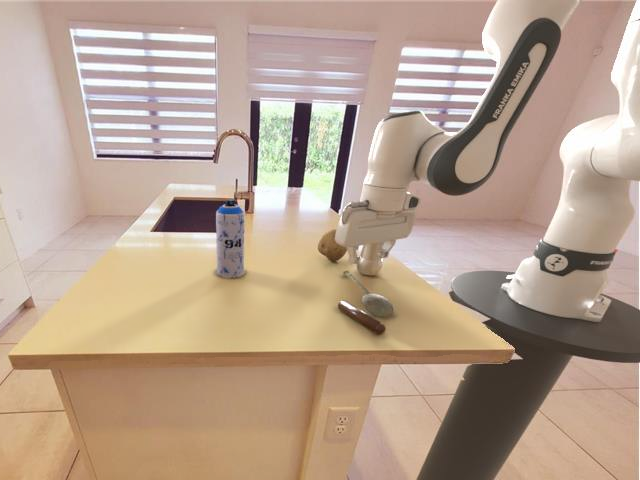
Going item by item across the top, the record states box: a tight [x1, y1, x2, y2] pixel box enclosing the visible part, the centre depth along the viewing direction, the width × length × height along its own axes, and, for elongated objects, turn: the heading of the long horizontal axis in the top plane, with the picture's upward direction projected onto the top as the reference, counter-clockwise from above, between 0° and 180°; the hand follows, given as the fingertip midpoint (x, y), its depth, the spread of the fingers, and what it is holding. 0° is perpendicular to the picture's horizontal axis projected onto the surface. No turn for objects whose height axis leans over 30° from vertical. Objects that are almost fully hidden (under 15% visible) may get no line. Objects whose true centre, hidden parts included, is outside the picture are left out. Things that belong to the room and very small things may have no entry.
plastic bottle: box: [356, 242, 385, 276], centre depth 84 cm, size 6×7×20 cm
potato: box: [317, 228, 348, 263], centre depth 95 cm, size 9×9×10 cm
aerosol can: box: [215, 199, 246, 279], centre depth 84 cm, size 8×8×20 cm
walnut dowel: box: [337, 299, 387, 335], centre depth 66 cm, size 2×12×2 cm, turn 26°
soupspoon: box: [342, 270, 395, 319], centre depth 77 cm, size 22×3×7 cm
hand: (368, 259), depth 73 cm, fingers open, 8 cm apart
